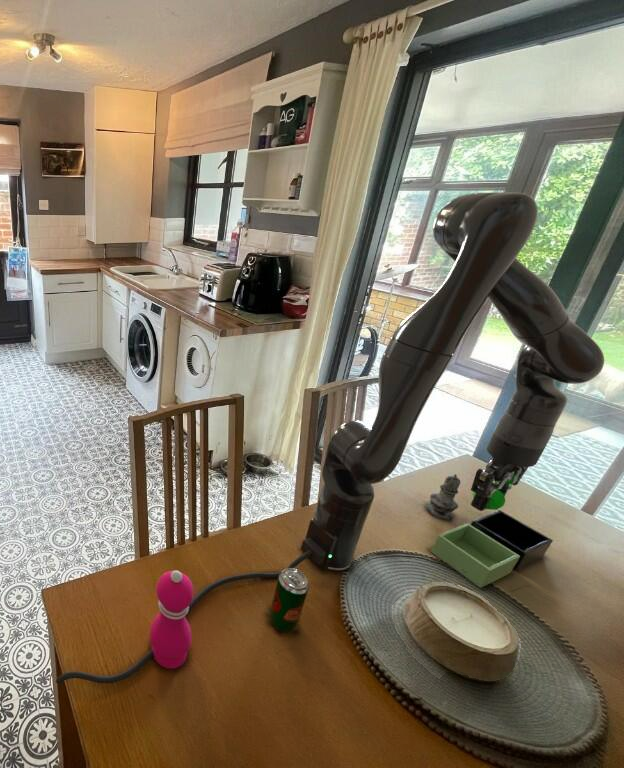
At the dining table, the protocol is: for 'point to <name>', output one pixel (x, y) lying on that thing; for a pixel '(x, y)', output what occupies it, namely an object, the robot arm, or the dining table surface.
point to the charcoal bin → (514, 536)
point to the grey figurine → (445, 498)
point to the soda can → (288, 600)
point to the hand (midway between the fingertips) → (485, 504)
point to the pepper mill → (172, 620)
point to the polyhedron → (495, 500)
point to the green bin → (475, 554)
